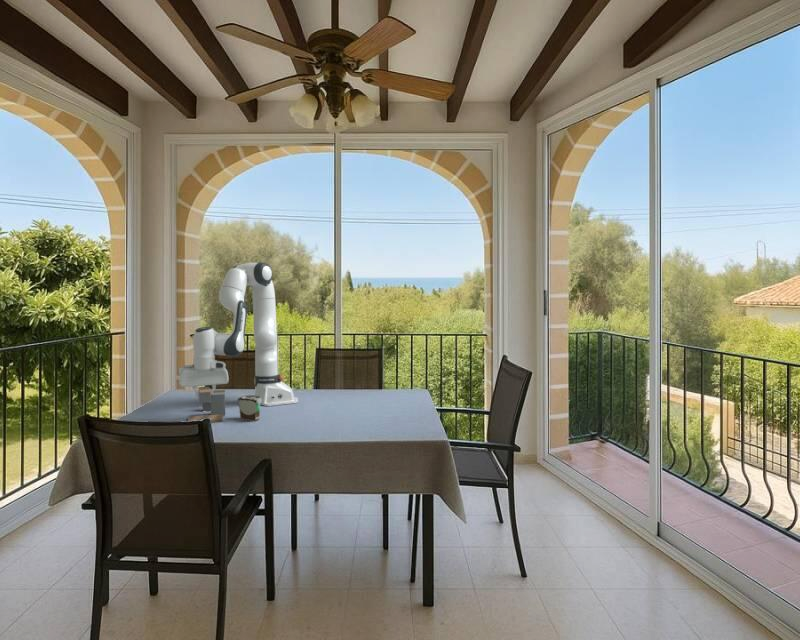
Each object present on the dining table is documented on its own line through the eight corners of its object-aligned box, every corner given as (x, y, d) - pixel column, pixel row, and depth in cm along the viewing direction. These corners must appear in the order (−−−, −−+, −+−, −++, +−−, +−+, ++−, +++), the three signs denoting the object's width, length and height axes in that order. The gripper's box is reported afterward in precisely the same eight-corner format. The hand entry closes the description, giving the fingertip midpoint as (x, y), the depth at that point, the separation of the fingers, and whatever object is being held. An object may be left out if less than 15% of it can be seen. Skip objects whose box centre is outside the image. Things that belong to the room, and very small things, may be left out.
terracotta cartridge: (210, 401, 234) (210, 388, 234) (199, 402, 232) (199, 389, 232) (209, 399, 238) (208, 386, 238) (198, 400, 236) (198, 387, 236)
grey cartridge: (213, 409, 258) (212, 396, 258) (212, 411, 254) (212, 398, 253) (203, 409, 257) (202, 397, 256) (202, 411, 252) (202, 399, 252)
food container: (268, 418, 239) (267, 396, 238) (257, 421, 233) (257, 399, 233) (248, 415, 245) (247, 393, 244) (238, 418, 240) (237, 396, 239)
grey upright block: (225, 412, 250) (224, 389, 249) (225, 415, 244) (224, 392, 243) (211, 413, 248) (211, 390, 248) (211, 416, 242) (210, 392, 242)
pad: (222, 416, 242) (222, 414, 242) (222, 422, 233) (222, 419, 233) (189, 419, 238) (189, 416, 238) (187, 424, 229) (187, 421, 229)
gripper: (179, 366, 226) (179, 398, 227) (229, 363, 236) (229, 394, 237) (177, 364, 232) (178, 396, 233) (226, 362, 241) (226, 392, 242)
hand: (204, 395), depth 235 cm, fingers closed on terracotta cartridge, 4 cm apart
